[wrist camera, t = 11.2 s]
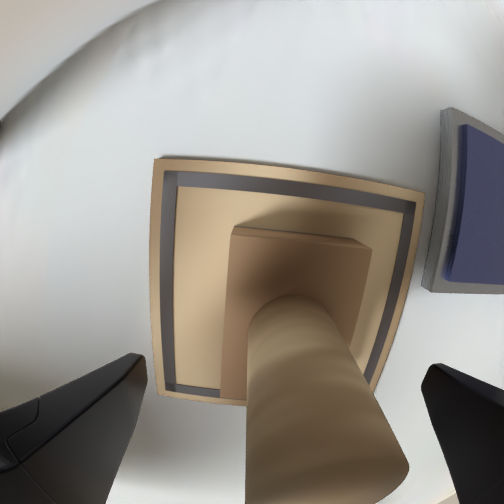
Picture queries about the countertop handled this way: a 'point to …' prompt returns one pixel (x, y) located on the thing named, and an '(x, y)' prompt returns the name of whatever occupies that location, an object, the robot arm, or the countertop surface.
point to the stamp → (304, 371)
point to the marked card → (267, 217)
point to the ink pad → (468, 210)
